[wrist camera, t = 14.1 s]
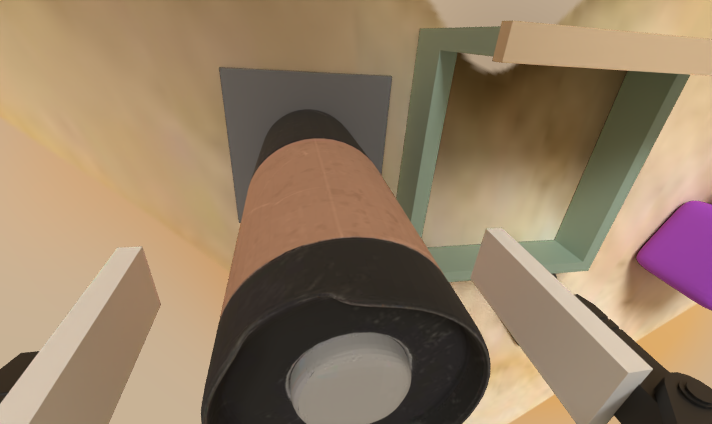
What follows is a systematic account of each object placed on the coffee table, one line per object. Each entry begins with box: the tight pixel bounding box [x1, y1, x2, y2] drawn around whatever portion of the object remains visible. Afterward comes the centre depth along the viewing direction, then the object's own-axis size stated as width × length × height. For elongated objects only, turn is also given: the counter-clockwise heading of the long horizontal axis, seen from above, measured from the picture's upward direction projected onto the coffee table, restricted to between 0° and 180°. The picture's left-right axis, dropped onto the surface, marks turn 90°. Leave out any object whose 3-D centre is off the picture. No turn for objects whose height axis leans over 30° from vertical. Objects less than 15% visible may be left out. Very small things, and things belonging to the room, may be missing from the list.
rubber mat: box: [219, 67, 392, 223], centre depth 25 cm, size 12×12×1 cm
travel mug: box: [201, 109, 490, 424], centre depth 17 cm, size 8×8×20 cm
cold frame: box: [396, 21, 712, 282], centre depth 25 cm, size 21×20×11 cm
